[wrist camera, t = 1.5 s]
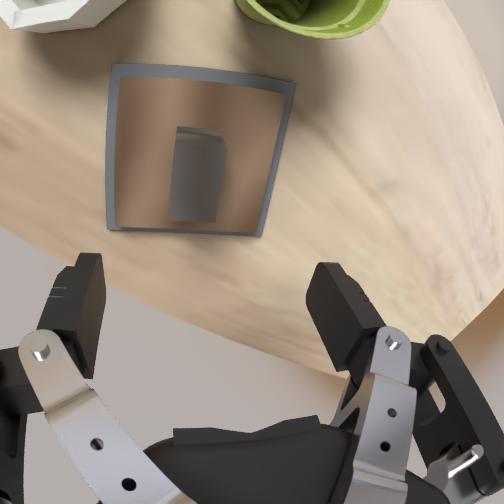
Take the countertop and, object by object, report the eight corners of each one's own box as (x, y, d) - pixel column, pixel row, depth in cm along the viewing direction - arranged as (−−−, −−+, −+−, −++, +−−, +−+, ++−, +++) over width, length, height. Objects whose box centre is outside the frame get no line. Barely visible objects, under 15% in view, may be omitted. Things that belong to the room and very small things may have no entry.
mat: (108, 226, 25) (107, 229, 25) (113, 63, 18) (112, 63, 17) (260, 233, 29) (261, 236, 29) (294, 83, 22) (296, 83, 21)
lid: (117, 219, 25) (103, 262, 20) (123, 76, 18) (102, 80, 13) (252, 226, 28) (270, 268, 23) (281, 92, 21) (312, 103, 16)
